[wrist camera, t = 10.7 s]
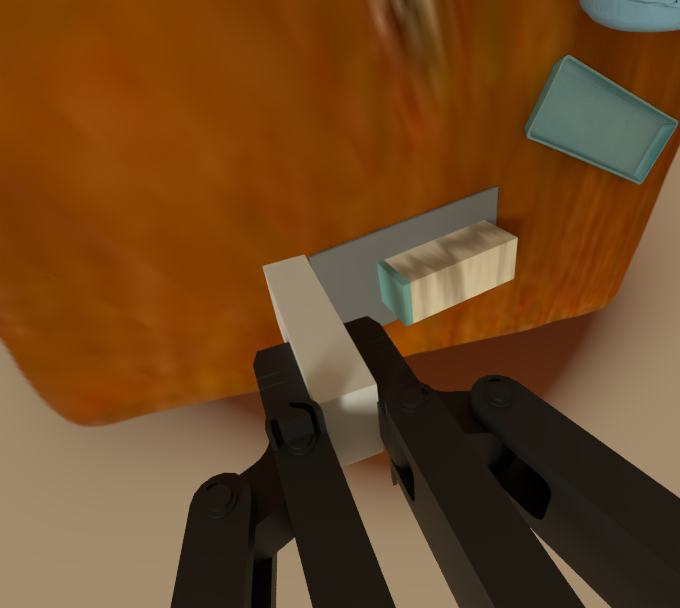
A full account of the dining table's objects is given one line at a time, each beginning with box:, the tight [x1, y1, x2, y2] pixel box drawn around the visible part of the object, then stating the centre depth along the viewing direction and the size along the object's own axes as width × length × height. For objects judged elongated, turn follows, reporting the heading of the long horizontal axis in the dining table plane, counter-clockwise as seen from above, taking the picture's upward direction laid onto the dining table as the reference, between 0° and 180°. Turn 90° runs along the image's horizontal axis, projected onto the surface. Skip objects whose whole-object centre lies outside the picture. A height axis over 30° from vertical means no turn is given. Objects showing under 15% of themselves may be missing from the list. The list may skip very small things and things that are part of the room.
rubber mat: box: [308, 186, 499, 326], centre depth 56 cm, size 26×14×1 cm, turn 100°
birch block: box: [377, 220, 518, 326], centre depth 54 cm, size 6×6×16 cm
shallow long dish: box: [524, 55, 678, 184], centre depth 56 cm, size 26×9×2 cm, turn 70°
